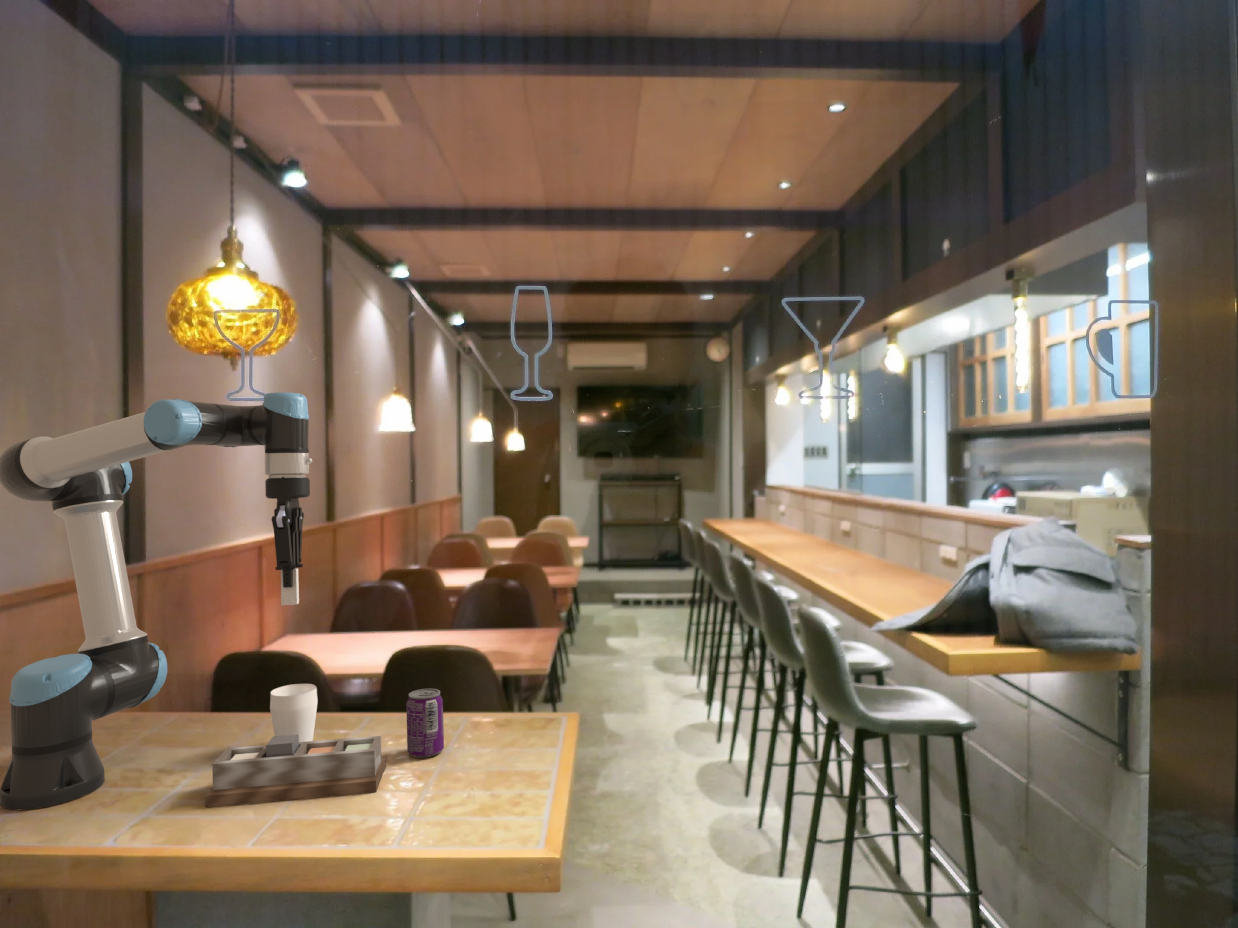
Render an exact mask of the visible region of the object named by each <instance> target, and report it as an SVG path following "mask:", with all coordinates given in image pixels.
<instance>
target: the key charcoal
mask: <svg viewBox="0 0 1238 928" xmlns="http://www.w3.org/2000/svg"><path fill="white" fill-rule="evenodd" d="M265 745H266V757H277V756H290V755H294V754H295V752H296V751H297V750H298V748H299V734H298V735H285V736H275V735H274V736H272V737H271V738H270V739H269V741H268V742H267V743H266V744H265Z"/></svg>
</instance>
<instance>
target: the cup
mask: <svg viewBox="0 0 1238 928" xmlns="http://www.w3.org/2000/svg"><path fill="white" fill-rule="evenodd" d="M269 701H270V702H269V710H270V716H271V717H270V718H271V721H272V722H271V723H272V727H273V733H274V736H285V735H298V734H299V742H308V741H314V733H315V727H316V726H315V725H316V720H317V709H318V702H319V700H318V688H317V686H316V685H315V684H314V683H313V684H312V683H295V684H287V685H283V686H279V687H277V688H274V689H272V690H271V691H270V700H269Z"/></svg>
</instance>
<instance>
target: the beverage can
mask: <svg viewBox="0 0 1238 928" xmlns="http://www.w3.org/2000/svg"><path fill="white" fill-rule="evenodd" d="M444 737H445V736H444V700H443V697H442V695H441V690H439V689H437V688H421V689H416V690H413V691H411V692H409V693H408V699H407V701H406V746H407V748H406V749H407V750H406V752H407V753H408V754H409V755H410V756H413V757H415V758H420V759H422V758H430V757H433V756H436V755H438V754H439V753H440V752H442V751H443V750H444V747H445V738H444Z"/></svg>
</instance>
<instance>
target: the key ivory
mask: <svg viewBox="0 0 1238 928" xmlns="http://www.w3.org/2000/svg"><path fill="white" fill-rule="evenodd" d="M258 754H259V753H247V754H235V756H234V757H233V758H232V759H231V760H240V759H253V758H255V757H256V756H257V755H258Z"/></svg>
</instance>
